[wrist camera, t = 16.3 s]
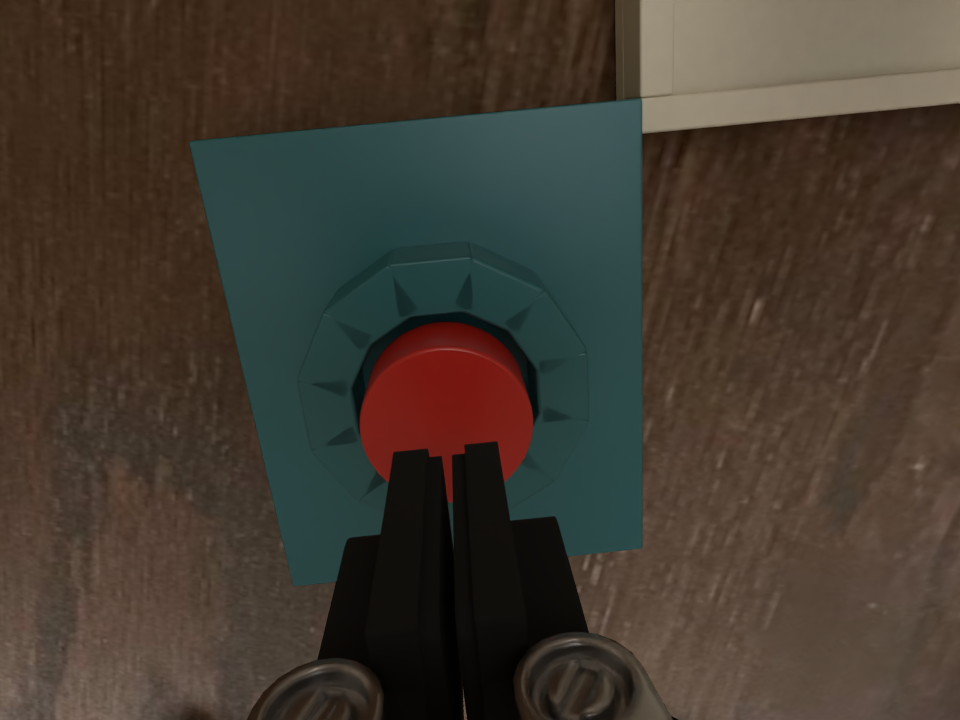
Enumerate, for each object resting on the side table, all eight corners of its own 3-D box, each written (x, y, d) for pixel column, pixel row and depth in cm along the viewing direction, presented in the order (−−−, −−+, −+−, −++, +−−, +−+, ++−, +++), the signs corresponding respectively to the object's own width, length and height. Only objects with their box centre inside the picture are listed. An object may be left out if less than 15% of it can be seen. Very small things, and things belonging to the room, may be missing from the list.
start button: (356, 329, 14) (346, 356, 13) (518, 312, 14) (528, 337, 13) (379, 471, 16) (372, 512, 14) (528, 455, 16) (538, 494, 14)
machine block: (232, 137, 17) (152, 144, 12) (607, 101, 17) (669, 95, 13) (313, 521, 21) (277, 634, 17) (615, 489, 22) (662, 592, 17)
